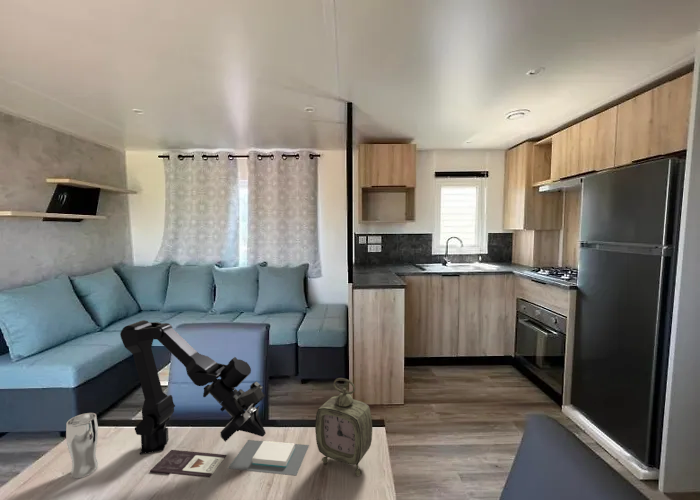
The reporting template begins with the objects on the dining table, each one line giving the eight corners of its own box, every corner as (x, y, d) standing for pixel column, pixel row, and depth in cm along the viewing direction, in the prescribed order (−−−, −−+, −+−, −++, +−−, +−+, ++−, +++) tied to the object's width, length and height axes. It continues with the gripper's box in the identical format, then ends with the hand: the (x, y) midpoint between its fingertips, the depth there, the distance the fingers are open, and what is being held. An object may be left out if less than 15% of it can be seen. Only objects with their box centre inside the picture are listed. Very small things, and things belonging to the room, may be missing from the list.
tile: (252, 458, 96) (285, 461, 94) (263, 440, 104) (294, 443, 102) (252, 464, 96) (286, 467, 94) (263, 446, 104) (294, 449, 102)
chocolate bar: (171, 449, 102) (226, 454, 100) (171, 452, 102) (226, 457, 100) (149, 470, 94) (209, 476, 91) (149, 473, 94) (209, 480, 91)
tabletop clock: (315, 465, 96) (314, 379, 94) (332, 446, 104) (330, 367, 102) (361, 482, 89) (360, 390, 87) (375, 461, 97) (374, 376, 95)
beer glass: (73, 466, 96) (70, 415, 95) (103, 459, 99) (100, 410, 98) (64, 483, 90) (61, 428, 89) (96, 475, 93) (93, 422, 92)
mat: (227, 469, 94) (227, 468, 94) (248, 441, 107) (248, 439, 107) (296, 476, 91) (296, 475, 91) (309, 446, 104) (309, 445, 104)
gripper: (229, 394, 90) (270, 437, 89) (258, 365, 108) (292, 401, 107) (203, 420, 91) (242, 463, 90) (236, 388, 110) (269, 423, 109)
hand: (264, 435), depth 99 cm, fingers closed
